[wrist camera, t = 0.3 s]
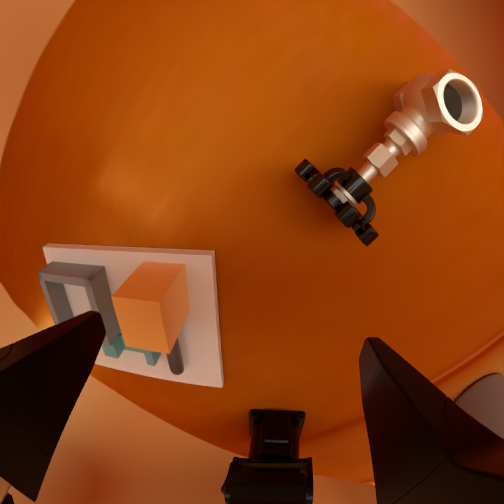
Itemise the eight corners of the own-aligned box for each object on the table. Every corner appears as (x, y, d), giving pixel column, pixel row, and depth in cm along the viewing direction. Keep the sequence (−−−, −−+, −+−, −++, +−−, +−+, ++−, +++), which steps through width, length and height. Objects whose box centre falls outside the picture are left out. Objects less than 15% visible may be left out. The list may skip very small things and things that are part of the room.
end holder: (121, 330, 26) (110, 346, 24) (70, 320, 26) (58, 333, 24) (104, 265, 23) (89, 279, 21) (52, 261, 24) (37, 272, 21)
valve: (398, 57, 15) (291, 164, 19) (441, 35, 9) (296, 178, 13) (453, 124, 16) (354, 226, 21) (505, 128, 10) (381, 264, 15)
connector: (198, 366, 27) (184, 409, 22) (164, 362, 27) (146, 402, 22) (184, 263, 22) (158, 302, 17) (143, 261, 22) (111, 296, 17)
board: (224, 380, 28) (222, 387, 27) (85, 354, 30) (81, 359, 29) (214, 250, 22) (211, 255, 22) (48, 243, 24) (42, 246, 23)
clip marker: (161, 354, 26) (155, 366, 25) (118, 346, 27) (111, 357, 25) (157, 339, 26) (150, 351, 24) (113, 331, 26) (106, 342, 24)
